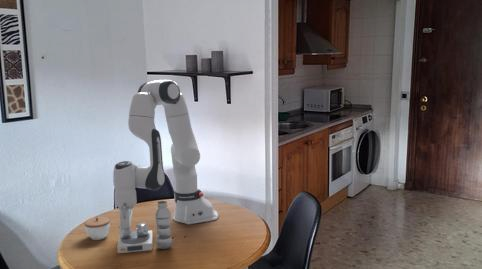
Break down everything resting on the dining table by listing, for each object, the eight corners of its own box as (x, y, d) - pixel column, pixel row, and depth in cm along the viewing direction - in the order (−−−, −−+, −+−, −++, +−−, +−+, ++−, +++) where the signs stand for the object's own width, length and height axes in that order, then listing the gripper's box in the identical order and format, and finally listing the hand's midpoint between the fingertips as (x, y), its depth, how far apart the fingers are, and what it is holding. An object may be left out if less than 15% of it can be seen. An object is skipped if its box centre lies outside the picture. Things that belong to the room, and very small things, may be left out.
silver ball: (148, 232, 185) (147, 222, 184) (148, 237, 180) (147, 226, 179) (137, 233, 184) (136, 223, 183) (136, 238, 179) (135, 227, 178)
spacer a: (131, 234, 183) (130, 223, 183) (130, 238, 179) (130, 227, 178) (120, 235, 183) (119, 224, 182) (119, 239, 178) (118, 228, 177)
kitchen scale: (152, 236, 190) (152, 228, 190) (152, 250, 176) (151, 241, 176) (120, 239, 188) (119, 231, 187) (117, 253, 174) (116, 245, 173)
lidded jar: (103, 230, 198) (102, 211, 196) (115, 237, 190) (113, 217, 189) (81, 237, 191) (80, 217, 189) (92, 244, 183) (90, 223, 181)
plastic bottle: (157, 244, 181) (154, 200, 178) (173, 244, 182) (171, 199, 179) (155, 251, 175) (153, 205, 172) (171, 250, 176) (169, 204, 172)
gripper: (131, 207, 169) (133, 240, 171) (134, 192, 188) (136, 222, 191) (115, 209, 167) (117, 241, 170) (119, 193, 187) (121, 223, 190)
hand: (127, 231), depth 180 cm, fingers closed on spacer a, 5 cm apart
